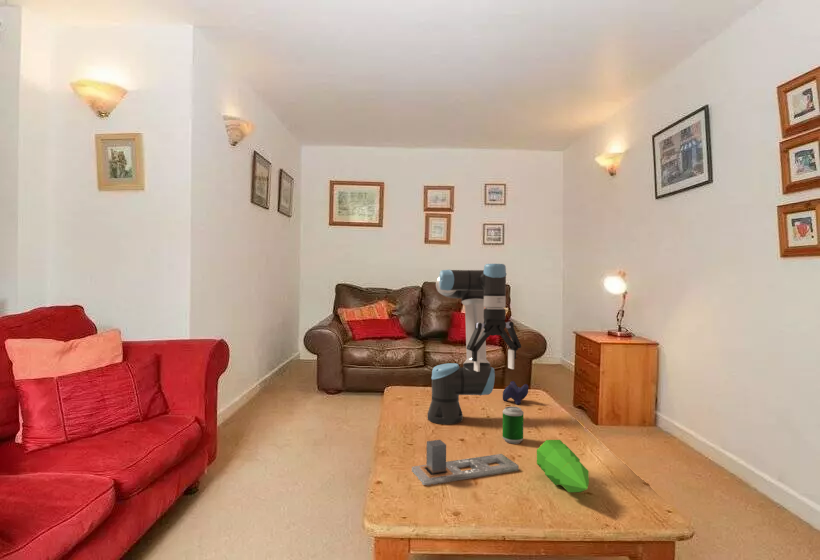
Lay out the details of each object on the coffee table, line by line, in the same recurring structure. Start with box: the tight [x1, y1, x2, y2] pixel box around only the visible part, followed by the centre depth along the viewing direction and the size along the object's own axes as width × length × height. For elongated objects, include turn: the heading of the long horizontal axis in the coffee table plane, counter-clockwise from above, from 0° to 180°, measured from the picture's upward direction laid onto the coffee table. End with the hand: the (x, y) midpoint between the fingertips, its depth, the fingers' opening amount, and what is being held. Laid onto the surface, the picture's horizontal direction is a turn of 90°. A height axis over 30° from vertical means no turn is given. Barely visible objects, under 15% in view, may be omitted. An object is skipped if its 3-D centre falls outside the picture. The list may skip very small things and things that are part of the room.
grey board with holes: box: [411, 453, 520, 486], centre depth 138 cm, size 10×32×2 cm, turn 110°
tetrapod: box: [502, 380, 530, 406], centre depth 217 cm, size 11×12×11 cm
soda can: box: [502, 406, 524, 445], centre depth 164 cm, size 8×8×12 cm
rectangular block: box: [426, 439, 447, 475], centre depth 134 cm, size 4×4×10 cm
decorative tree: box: [536, 439, 590, 493], centre depth 128 cm, size 11×12×30 cm
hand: (494, 369), depth 153 cm, fingers open, 13 cm apart
